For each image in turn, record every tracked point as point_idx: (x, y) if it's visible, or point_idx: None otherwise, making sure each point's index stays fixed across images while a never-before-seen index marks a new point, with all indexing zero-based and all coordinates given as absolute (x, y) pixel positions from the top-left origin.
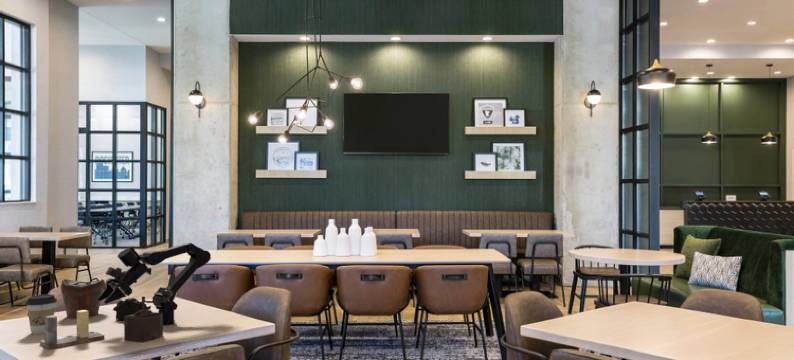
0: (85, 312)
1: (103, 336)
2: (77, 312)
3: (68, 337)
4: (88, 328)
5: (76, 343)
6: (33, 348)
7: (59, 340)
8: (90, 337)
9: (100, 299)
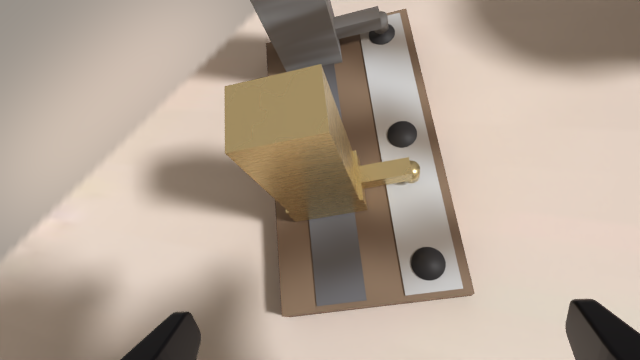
0: (229, 131)
1: (284, 310)
2: (302, 76)
3: (375, 125)
4: (282, 205)
5: None
6: (348, 5)
7: (332, 84)
8: (285, 230)
9: (580, 349)
